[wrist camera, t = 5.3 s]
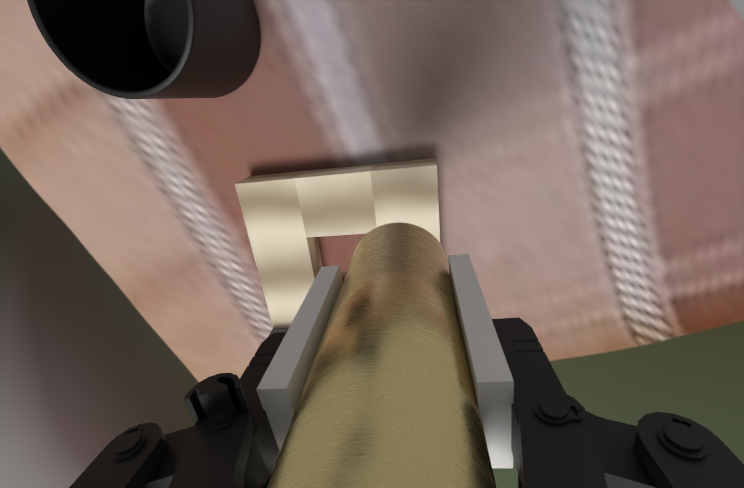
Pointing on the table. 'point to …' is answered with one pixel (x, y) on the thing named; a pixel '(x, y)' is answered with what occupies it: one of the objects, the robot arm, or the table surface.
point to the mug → (153, 44)
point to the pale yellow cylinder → (389, 379)
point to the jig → (327, 219)
